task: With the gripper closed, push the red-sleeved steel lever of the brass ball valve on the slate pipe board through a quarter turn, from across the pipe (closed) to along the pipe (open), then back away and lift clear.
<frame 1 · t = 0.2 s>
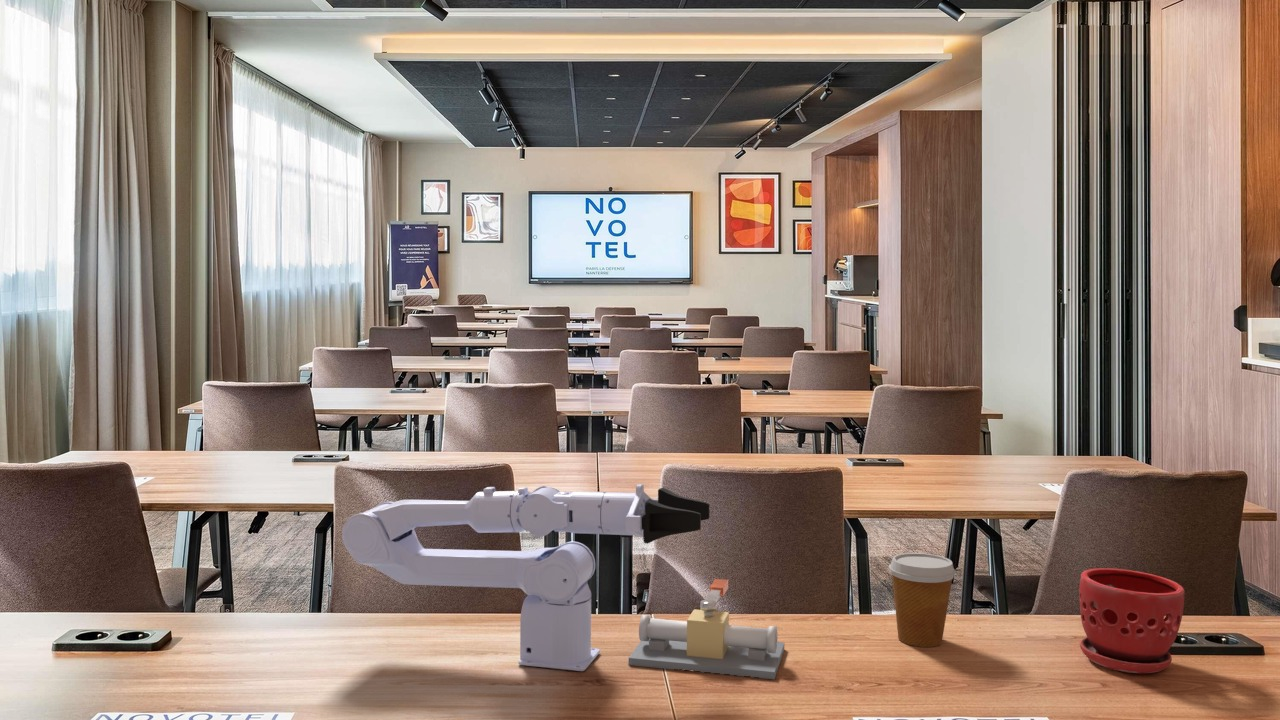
hand: (704, 516, 137), 21 cm above the table, tool horizontal, fingers open, 7 cm apart
valve lever: (714, 594, 148), point 8 cm above the table, hinge at 90.0°
disposable coffee cup: (919, 641, 152), on the table
valve board: (707, 658, 144), on the table
plant pot: (1127, 664, 144), on the table
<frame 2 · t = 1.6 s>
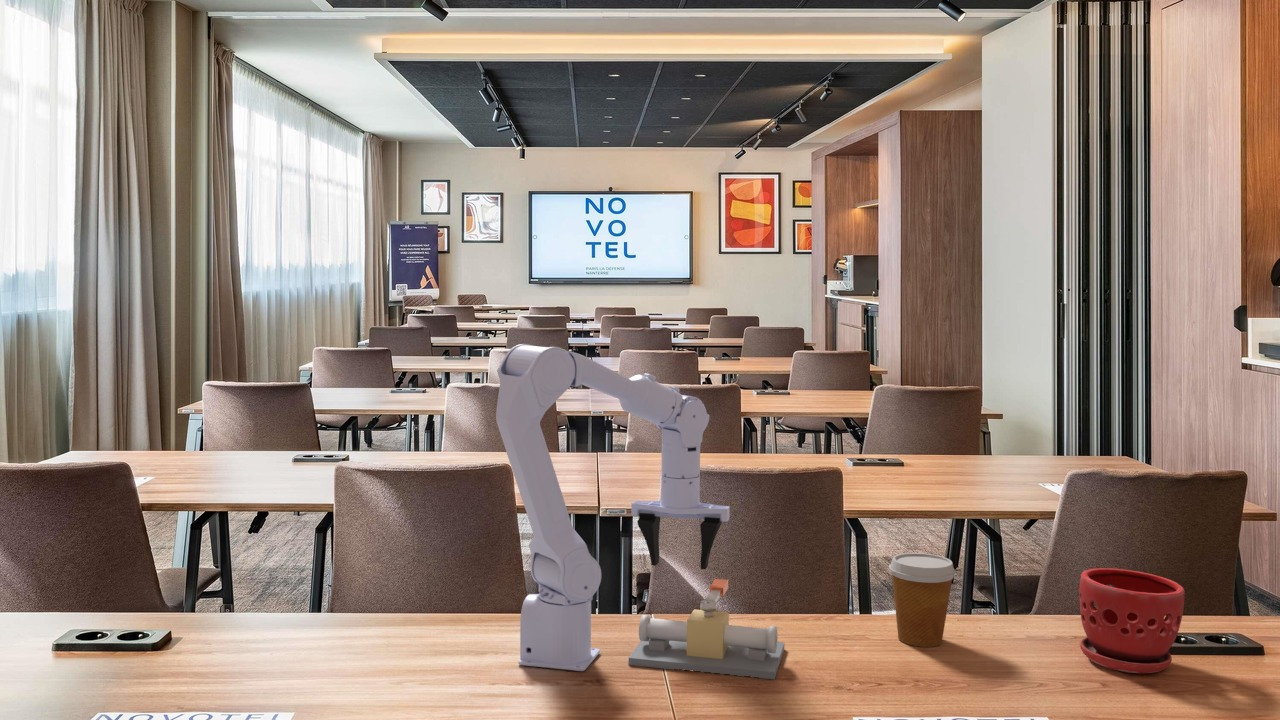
hand: (679, 565, 153), 10 cm above the table, tool pointing down, fingers open, 7 cm apart
nothing on the table moved.
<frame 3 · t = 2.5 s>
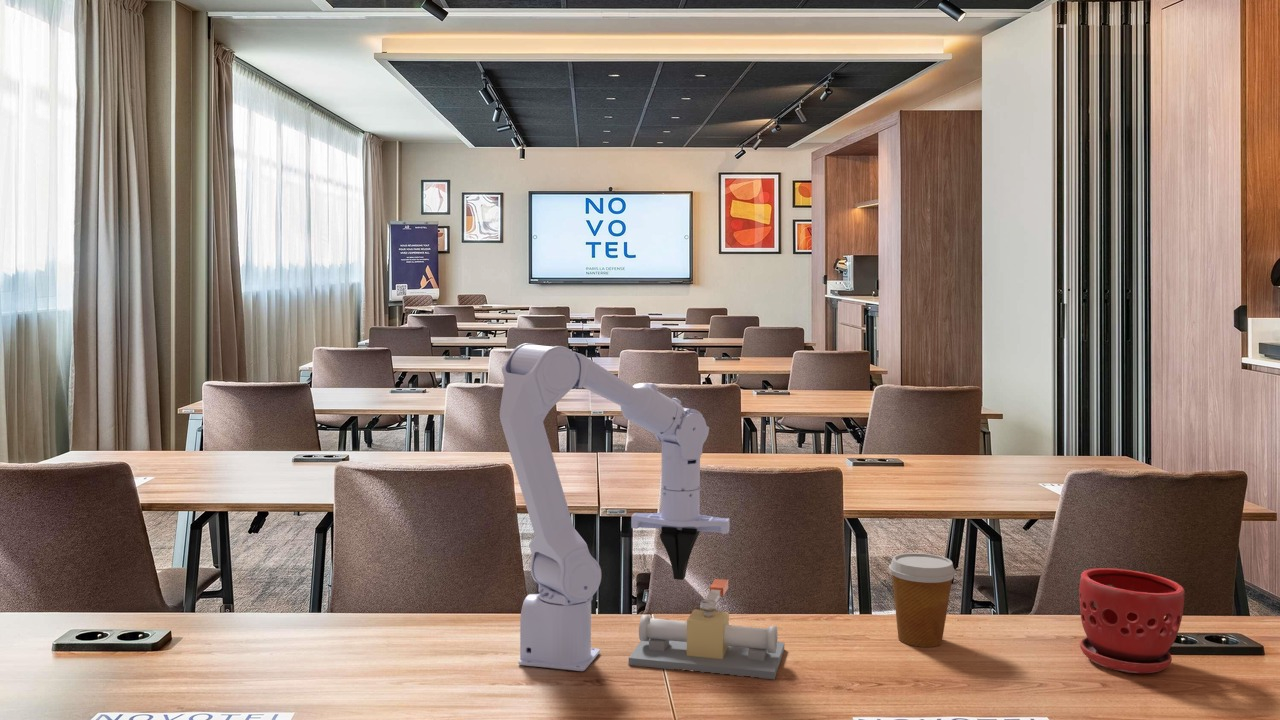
hand: (679, 577, 153), 9 cm above the table, tool pointing down, fingers closed
nothing on the table moved.
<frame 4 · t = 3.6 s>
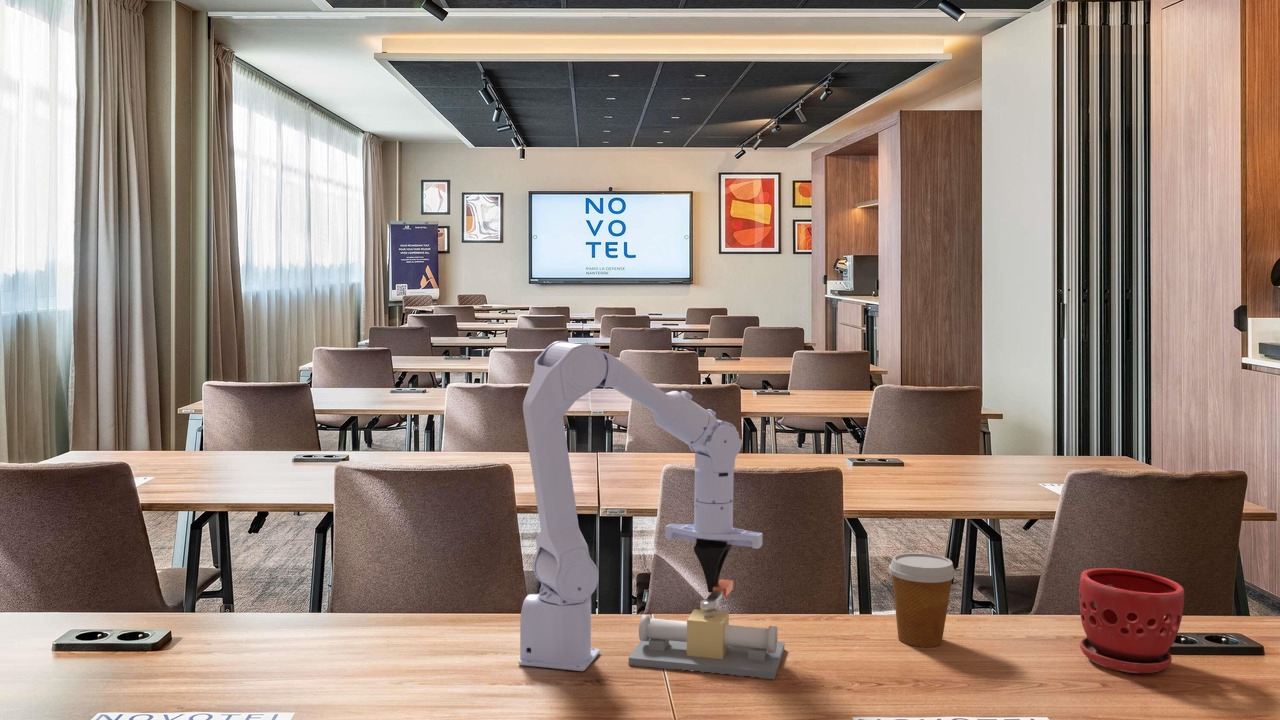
hand: (712, 590, 152), 7 cm above the table, tool pointing down, fingers closed
valve lever: (716, 595, 148), point 8 cm above the table, hinge at 85.9°, touching gripper
everything else where it was.
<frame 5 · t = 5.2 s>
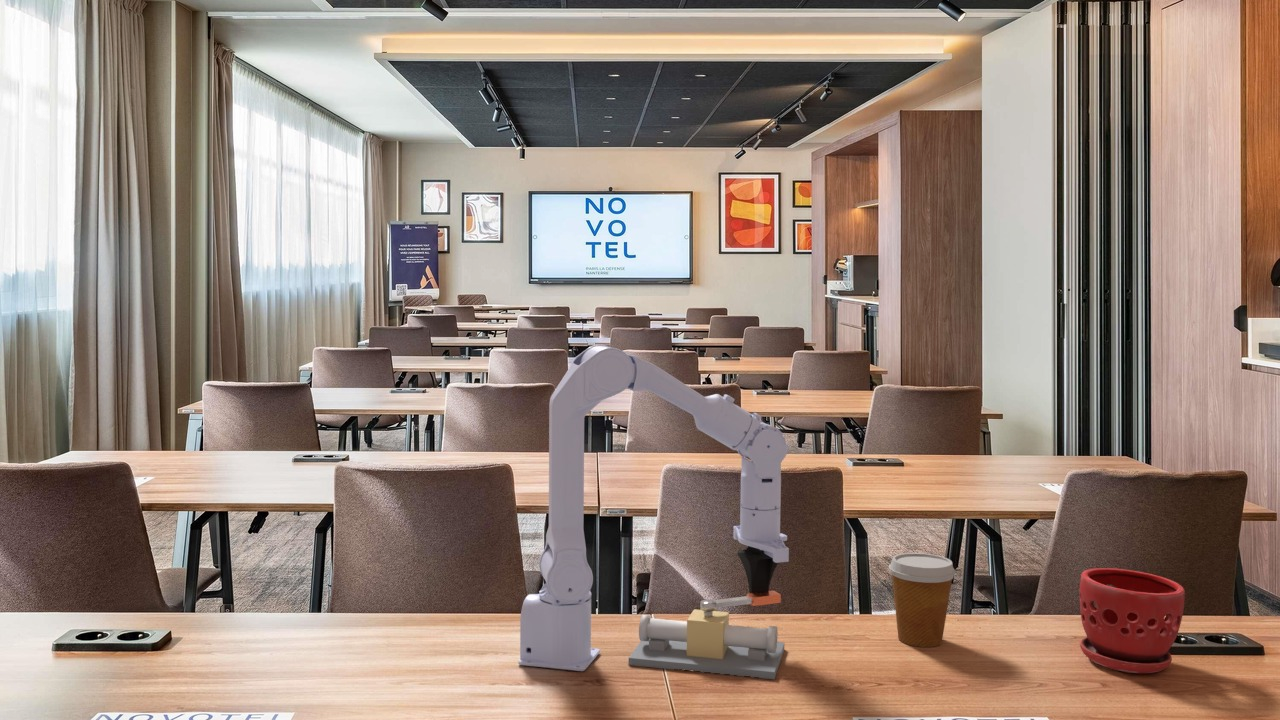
hand: (759, 599, 148), 7 cm above the table, tool pointing down, fingers closed, pressing on valve lever
valve lever: (739, 601, 145), point 8 cm above the table, hinge at 36.6°, touching gripper
everything else where it was.
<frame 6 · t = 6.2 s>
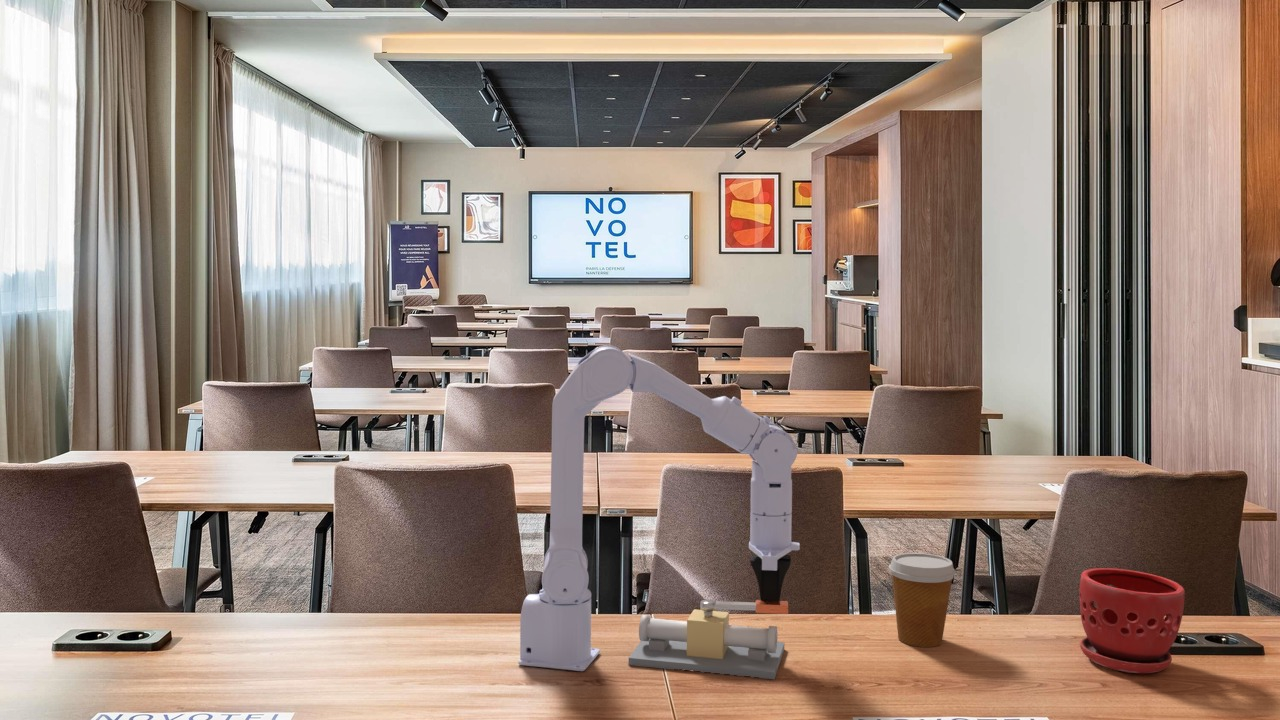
hand: (770, 607, 144), 7 cm above the table, tool pointing down, fingers closed, pressing on valve lever
valve lever: (743, 606, 143), point 8 cm above the table, hinge at 9.4°, touching gripper
everything else where it was.
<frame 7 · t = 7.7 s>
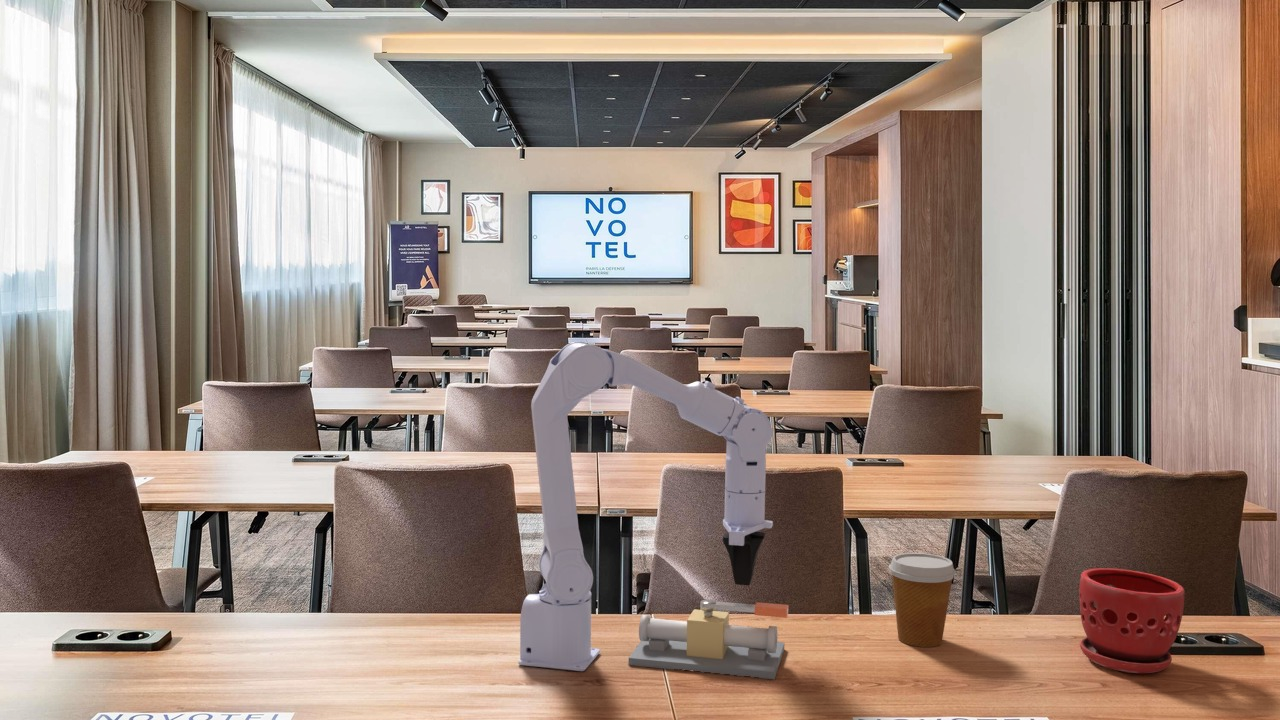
hand: (742, 583, 148), 9 cm above the table, tool pointing down, fingers closed
valve lever: (743, 607, 142), point 8 cm above the table, hinge at 0.4°
everything else where it was.
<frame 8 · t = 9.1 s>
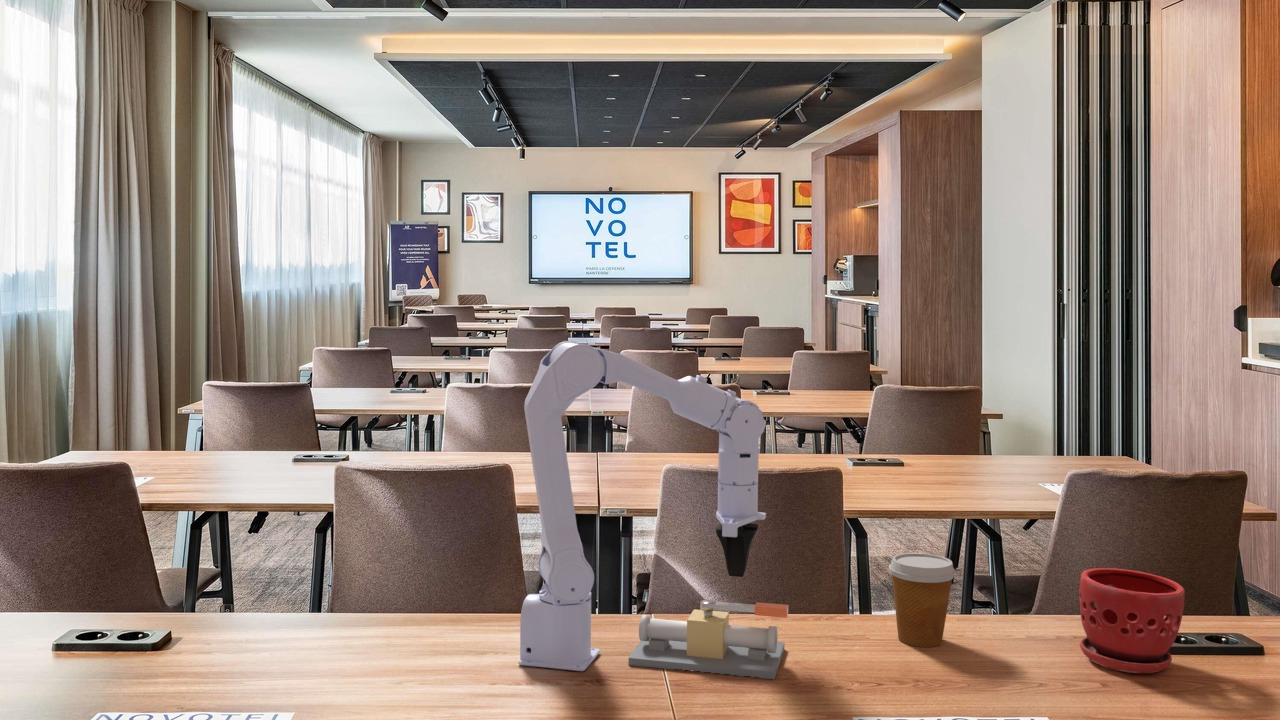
hand: (736, 575, 148), 10 cm above the table, tool pointing down, fingers closed
nothing on the table moved.
at the end: valve lever at +0° (first picture: +90°) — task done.
